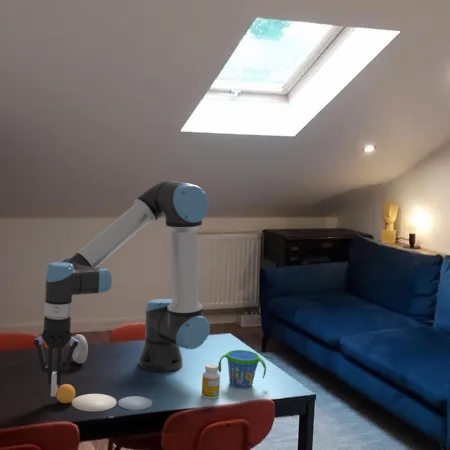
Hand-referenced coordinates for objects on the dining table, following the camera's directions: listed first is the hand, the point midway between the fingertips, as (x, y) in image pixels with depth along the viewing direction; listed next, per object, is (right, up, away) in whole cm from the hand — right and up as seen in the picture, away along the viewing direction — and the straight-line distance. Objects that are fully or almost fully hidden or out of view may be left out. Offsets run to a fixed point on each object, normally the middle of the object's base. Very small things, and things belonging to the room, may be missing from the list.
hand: (53, 394), depth 201 cm
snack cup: (+55, -3, +24) cm, 60 cm away
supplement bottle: (+45, -4, +13) cm, 47 cm away
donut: (0, +2, +35) cm, 35 cm away
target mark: (+11, -3, +2) cm, 12 cm away
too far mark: (+23, -3, +3) cm, 24 cm away
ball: (+3, 0, 0) cm, 3 cm away
